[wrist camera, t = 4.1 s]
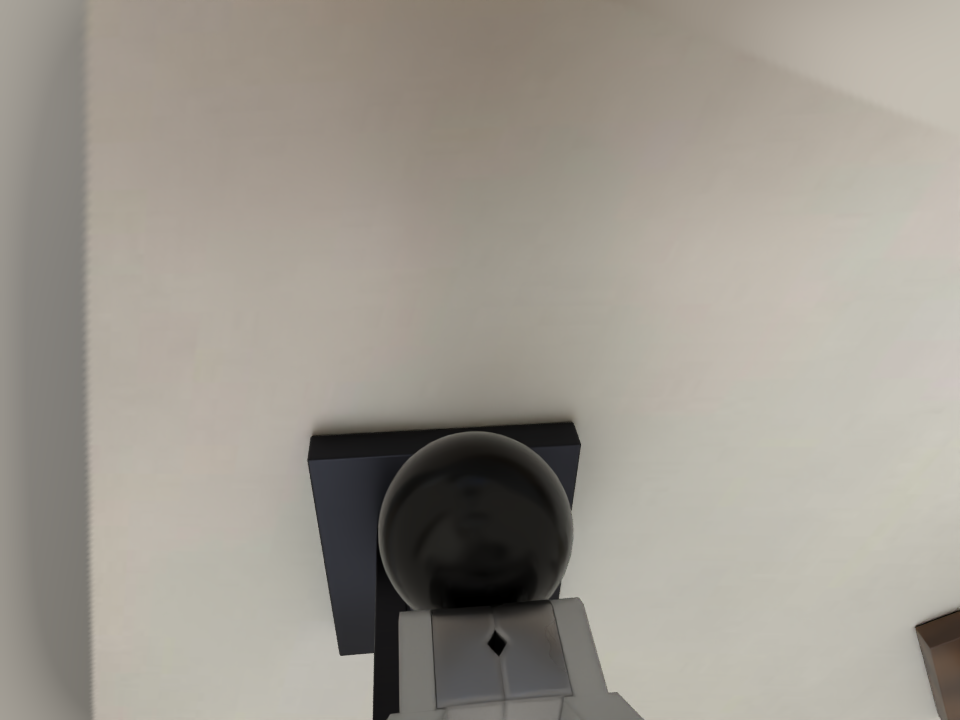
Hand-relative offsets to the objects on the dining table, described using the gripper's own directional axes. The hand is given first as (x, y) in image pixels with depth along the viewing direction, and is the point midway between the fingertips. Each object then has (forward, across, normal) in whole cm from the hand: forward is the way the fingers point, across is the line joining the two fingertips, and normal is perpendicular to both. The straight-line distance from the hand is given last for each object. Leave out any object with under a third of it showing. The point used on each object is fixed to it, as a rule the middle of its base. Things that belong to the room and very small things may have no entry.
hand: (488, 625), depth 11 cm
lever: (+3, 0, +5) cm, 6 cm away
